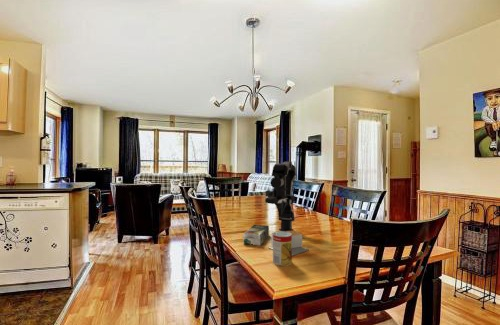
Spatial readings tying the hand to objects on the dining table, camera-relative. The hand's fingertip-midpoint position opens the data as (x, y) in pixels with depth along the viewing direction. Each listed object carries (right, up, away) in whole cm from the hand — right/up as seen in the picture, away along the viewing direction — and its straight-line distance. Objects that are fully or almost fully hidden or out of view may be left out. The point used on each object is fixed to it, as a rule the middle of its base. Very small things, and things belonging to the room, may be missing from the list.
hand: (280, 214), depth 146 cm
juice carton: (-13, -13, -3) cm, 19 cm away
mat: (+2, -13, -19) cm, 23 cm away
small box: (+8, -9, -13) cm, 18 cm away
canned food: (-3, -13, -35) cm, 38 cm away
